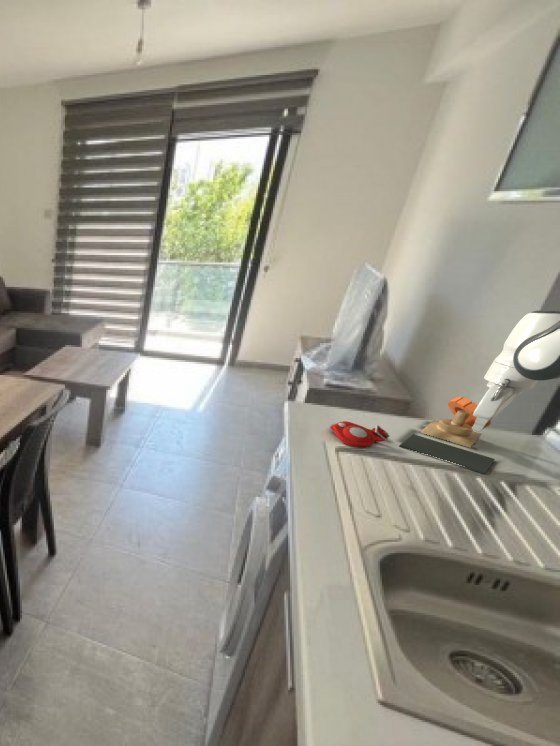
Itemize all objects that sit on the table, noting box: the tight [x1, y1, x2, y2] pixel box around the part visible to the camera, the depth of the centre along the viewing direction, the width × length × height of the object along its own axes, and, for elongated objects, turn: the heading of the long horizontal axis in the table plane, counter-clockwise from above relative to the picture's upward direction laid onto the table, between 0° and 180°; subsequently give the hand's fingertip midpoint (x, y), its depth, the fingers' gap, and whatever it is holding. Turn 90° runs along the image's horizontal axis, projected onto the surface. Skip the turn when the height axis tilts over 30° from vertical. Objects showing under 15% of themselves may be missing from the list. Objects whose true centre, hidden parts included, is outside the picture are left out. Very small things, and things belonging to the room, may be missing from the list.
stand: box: [421, 410, 482, 449], centre depth 127 cm, size 10×10×7 cm
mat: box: [398, 433, 496, 475], centre depth 119 cm, size 16×12×1 cm
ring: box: [447, 395, 492, 430], centre depth 126 cm, size 10×10×2 cm
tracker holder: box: [330, 420, 391, 449], centre depth 123 cm, size 12×4×10 cm
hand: (480, 426), depth 124 cm, fingers closed on ring, 6 cm apart
